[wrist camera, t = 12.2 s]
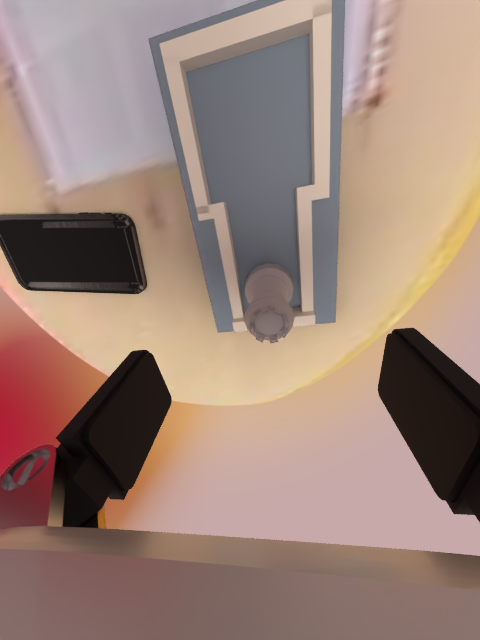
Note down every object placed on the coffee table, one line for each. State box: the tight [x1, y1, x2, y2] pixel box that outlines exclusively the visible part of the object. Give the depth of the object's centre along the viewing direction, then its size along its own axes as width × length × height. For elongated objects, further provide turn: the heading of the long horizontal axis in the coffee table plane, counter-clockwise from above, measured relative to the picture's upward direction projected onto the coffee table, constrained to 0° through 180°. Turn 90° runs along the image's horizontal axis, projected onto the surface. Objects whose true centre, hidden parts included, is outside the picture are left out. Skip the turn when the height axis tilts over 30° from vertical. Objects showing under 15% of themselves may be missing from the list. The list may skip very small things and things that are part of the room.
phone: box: [0, 213, 147, 294], centre depth 23 cm, size 8×1×15 cm
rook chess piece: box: [244, 263, 294, 343], centre depth 17 cm, size 4×4×8 cm
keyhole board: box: [149, 0, 345, 332], centre depth 18 cm, size 22×12×4 cm, turn 9°
